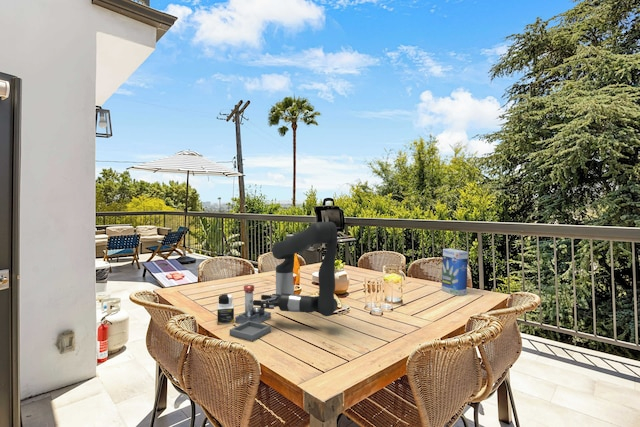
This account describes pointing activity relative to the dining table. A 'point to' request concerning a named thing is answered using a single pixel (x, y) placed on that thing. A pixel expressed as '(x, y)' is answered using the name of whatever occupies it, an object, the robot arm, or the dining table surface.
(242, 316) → the tensioner block
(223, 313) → the medicine bottle
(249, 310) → the pin
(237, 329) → the tray
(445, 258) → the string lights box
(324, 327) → the dining table surface
